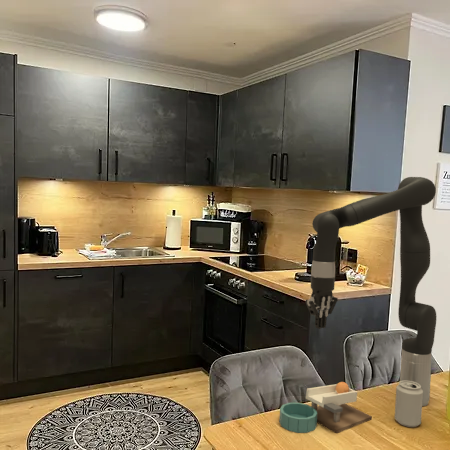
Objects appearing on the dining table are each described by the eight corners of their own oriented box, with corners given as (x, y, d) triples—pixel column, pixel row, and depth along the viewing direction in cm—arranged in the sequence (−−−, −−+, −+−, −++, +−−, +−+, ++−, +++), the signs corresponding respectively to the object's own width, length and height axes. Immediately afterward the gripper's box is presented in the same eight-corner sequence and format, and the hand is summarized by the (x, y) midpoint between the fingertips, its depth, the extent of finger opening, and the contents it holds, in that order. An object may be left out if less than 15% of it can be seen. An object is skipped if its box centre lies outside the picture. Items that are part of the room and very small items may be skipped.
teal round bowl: (297, 412, 144) (298, 399, 143) (323, 426, 135) (324, 413, 135) (272, 420, 137) (273, 407, 137) (297, 436, 129) (298, 422, 129)
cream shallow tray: (338, 392, 149) (339, 383, 149) (367, 406, 140) (368, 396, 140) (305, 398, 140) (306, 388, 140) (334, 413, 131) (335, 402, 131)
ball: (340, 392, 147) (342, 380, 147) (350, 397, 144) (352, 384, 144) (332, 392, 144) (334, 379, 145) (342, 397, 141) (344, 384, 141)
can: (423, 430, 135) (425, 390, 135) (396, 426, 137) (398, 387, 136) (417, 418, 143) (420, 380, 142) (392, 415, 144) (394, 377, 144)
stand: (337, 402, 152) (338, 384, 151) (371, 419, 141) (372, 400, 140) (302, 414, 142) (303, 395, 142) (336, 433, 131) (337, 412, 131)
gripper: (328, 271, 156) (325, 322, 157) (299, 274, 148) (297, 327, 149) (346, 275, 150) (343, 327, 151) (317, 278, 142) (314, 333, 143)
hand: (320, 327), depth 150 cm, fingers closed
